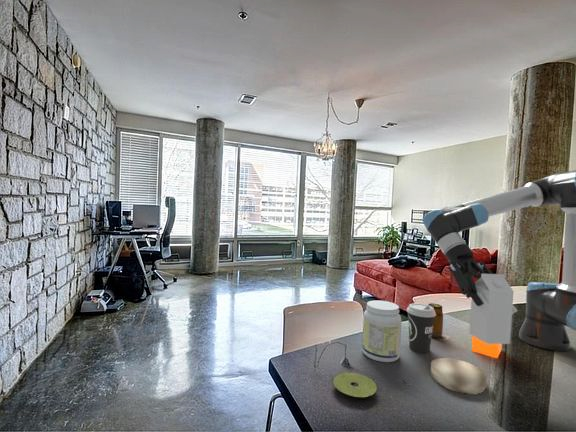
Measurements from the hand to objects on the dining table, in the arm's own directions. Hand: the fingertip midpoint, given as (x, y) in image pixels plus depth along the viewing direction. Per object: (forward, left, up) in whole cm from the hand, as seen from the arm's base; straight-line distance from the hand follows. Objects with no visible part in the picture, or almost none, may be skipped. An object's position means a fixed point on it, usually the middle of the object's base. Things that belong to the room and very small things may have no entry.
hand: (502, 314), depth 85 cm
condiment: (+14, -31, -21) cm, 40 cm away
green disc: (+36, +21, -20) cm, 47 cm away
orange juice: (-2, -25, -20) cm, 33 cm away
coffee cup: (+20, -15, -20) cm, 33 cm away
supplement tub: (+32, -4, -20) cm, 39 cm away
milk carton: (+2, -2, -8) cm, 9 cm away
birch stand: (+10, +2, -20) cm, 23 cm away
